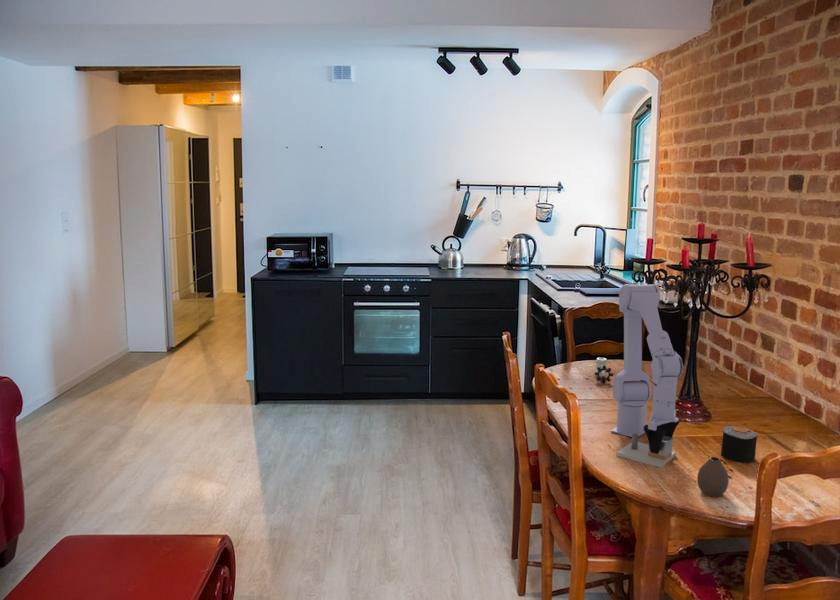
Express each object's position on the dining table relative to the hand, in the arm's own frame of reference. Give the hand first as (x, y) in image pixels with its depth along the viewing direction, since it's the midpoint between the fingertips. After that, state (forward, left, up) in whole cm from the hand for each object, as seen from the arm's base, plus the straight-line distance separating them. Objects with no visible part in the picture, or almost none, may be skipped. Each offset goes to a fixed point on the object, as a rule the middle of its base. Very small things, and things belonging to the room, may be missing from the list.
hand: (659, 448), depth 192 cm
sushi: (-16, +16, -3) cm, 23 cm away
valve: (-61, -45, -3) cm, 76 cm away
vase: (+12, +18, -3) cm, 21 cm away
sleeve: (0, 0, -2) cm, 2 cm away
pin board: (0, -4, -3) cm, 5 cm away
